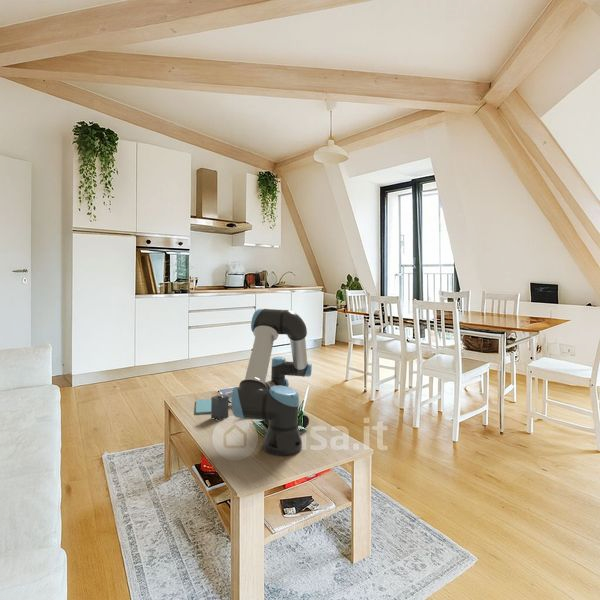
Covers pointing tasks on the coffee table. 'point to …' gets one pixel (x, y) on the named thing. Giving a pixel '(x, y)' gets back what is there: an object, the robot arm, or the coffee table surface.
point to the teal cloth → (203, 406)
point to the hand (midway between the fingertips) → (235, 399)
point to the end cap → (305, 421)
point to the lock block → (219, 406)
